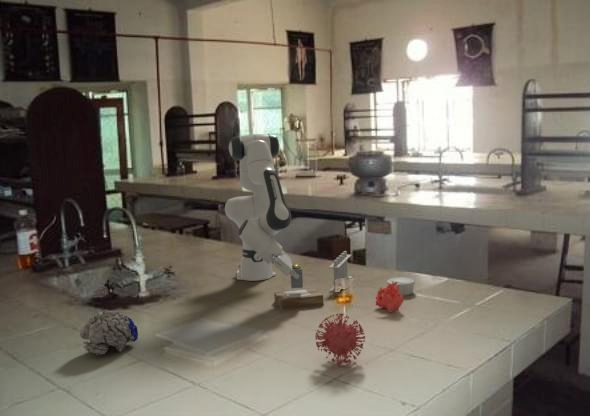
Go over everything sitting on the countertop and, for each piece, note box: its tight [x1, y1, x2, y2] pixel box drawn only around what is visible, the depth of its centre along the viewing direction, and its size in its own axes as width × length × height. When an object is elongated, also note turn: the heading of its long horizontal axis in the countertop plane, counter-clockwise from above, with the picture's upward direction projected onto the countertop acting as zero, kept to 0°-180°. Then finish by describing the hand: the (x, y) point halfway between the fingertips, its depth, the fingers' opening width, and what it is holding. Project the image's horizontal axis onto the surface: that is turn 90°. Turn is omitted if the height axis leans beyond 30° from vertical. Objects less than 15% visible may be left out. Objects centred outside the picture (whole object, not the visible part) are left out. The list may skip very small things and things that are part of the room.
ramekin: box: [386, 276, 415, 297], centre depth 260 cm, size 11×11×5 cm
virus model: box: [314, 313, 366, 365], centre depth 188 cm, size 15×15×15 cm
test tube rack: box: [328, 250, 353, 293], centre depth 276 cm, size 25×4×13 cm, turn 162°
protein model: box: [375, 282, 405, 314], centre depth 238 cm, size 9×12×12 cm
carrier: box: [290, 265, 304, 289], centre depth 250 cm, size 6×4×8 cm
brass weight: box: [292, 263, 300, 269], centre depth 249 cm, size 3×3×2 cm
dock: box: [273, 287, 325, 311], centre depth 251 cm, size 12×17×4 cm
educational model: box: [79, 309, 139, 357], centre depth 208 cm, size 14×20×15 cm
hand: (298, 275), depth 250 cm, fingers closed on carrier, 5 cm apart
